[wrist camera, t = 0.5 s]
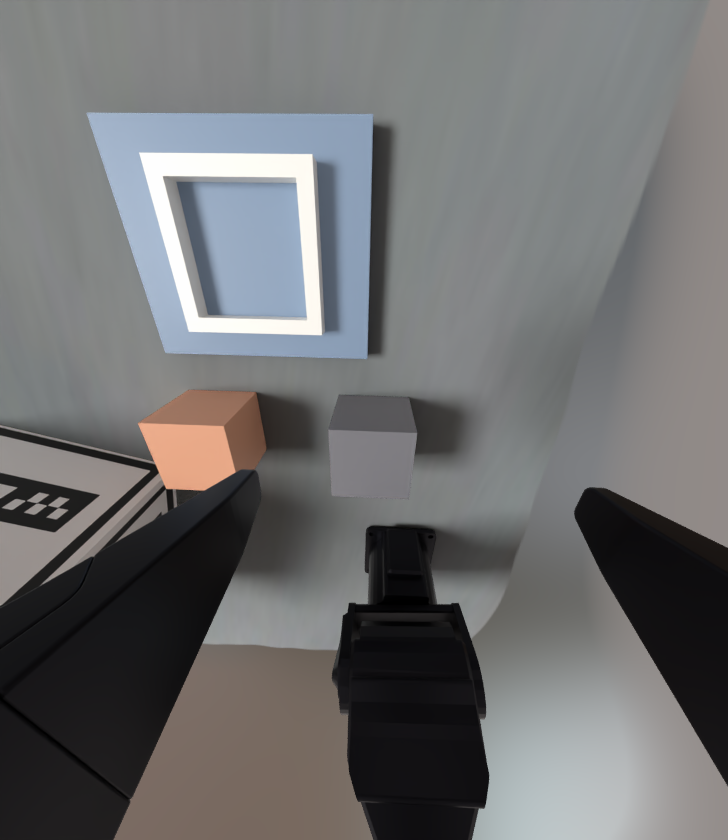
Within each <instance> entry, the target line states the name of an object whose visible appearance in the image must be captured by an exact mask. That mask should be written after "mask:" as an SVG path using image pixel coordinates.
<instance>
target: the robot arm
mask: <svg viewBox="0 0 728 840" xmlns="http://www.w3.org/2000/svg"><path fill="white" fill-rule="evenodd" d="M260 501H261V489H260V483H259V477H258V473H257V471H255V470H249V469H241V470H239V471H237V472H235V473H234V474H232V475H230V476H228V477H227V478H225V479H223V480H222V481H220V482H218V483H216V484H215V485H213V486H211V487H210V488H208V489H206V490H204V491H203V492H201V493H199V494H198V495H196V496H194V497H192V498H191V499H189V500H187V501H186V502H184V503H182V504H180V505H179V506H177V507H175V508H174V509H172V510H170V511H168V512H167V513H165V514H163V515H162V516H160V517H158V518H156V519H155V520H153V521H151V522H149V523H148V524H146V525H144V526H143V527H141V528H139V529H137V530H136V531H134V532H132V533H131V534H129V535H127V536H125V537H124V538H122V539H120V540H119V541H117V542H115V543H113V544H112V545H110V546H108V547H107V548H105V549H103V550H101V551H100V552H98V553H96V554H95V556H94V557H93V556H92V557H89V558H87V559H86V560H84V561H82V562H81V563H79V564H77V565H75V566H74V567H72V568H70V569H69V570H67V571H65V572H63V573H62V574H60V575H58V576H56V577H55V578H53V579H51V580H49V581H47V582H46V583H44V584H42V585H40V586H39V587H37V588H35V589H33V590H32V591H30V592H28V593H26V594H24V595H22V596H20V597H19V598H17V599H15V600H13V601H11V602H9V603H7V604H6V605H4V606H2V607H0V840H113V839H114V838H115V835H116V833H117V831H118V828H119V826H120V824H121V822H122V820H123V818H124V815H125V813H126V811H127V809H128V807H129V804H130V799H131V798H132V797H133V795H134V793H135V790H136V788H137V786H138V784H139V782H140V779H141V777H142V775H143V773H144V771H145V768H146V766H147V764H148V762H149V760H150V757H151V755H152V753H153V751H154V749H155V746H156V744H157V742H158V740H159V738H160V735H161V733H162V731H163V729H164V726H165V724H166V722H167V720H168V718H169V716H170V713H171V711H172V709H173V707H174V704H175V702H176V700H177V698H178V696H179V694H180V691H181V689H182V687H183V685H184V682H185V680H186V678H187V676H188V674H189V671H190V669H191V667H192V665H193V663H194V660H195V658H196V656H197V654H198V652H199V649H200V647H201V645H202V643H203V641H204V638H205V636H206V634H207V632H208V630H209V627H210V625H211V623H212V621H213V619H214V616H215V614H216V612H217V610H218V608H219V605H220V603H221V601H222V599H223V596H224V594H225V592H226V590H227V588H228V585H229V583H230V581H231V579H232V577H233V574H234V572H235V570H236V568H237V566H238V563H239V561H240V559H241V556H242V554H243V552H244V549H245V546H246V543H247V540H248V537H249V534H250V531H251V528H252V525H253V522H254V519H255V516H256V513H257V510H258V507H259V504H260ZM574 515H575V519H576V521H577V523H578V525H579V527H580V529H581V532H582V533H583V536H584V538H585V540H586V542H587V544H588V546H589V548H590V550H591V552H592V554H593V557H594V559H595V561H596V563H597V565H598V567H599V569H600V571H601V573H602V575H603V577H604V578H605V580H606V582H607V584H608V585H609V587H610V589H611V590H612V592H613V594H614V595H615V597H616V599H617V600H618V602H619V604H620V606H621V607H622V609H623V611H624V612H625V614H626V616H627V617H628V619H629V620H630V622H631V624H632V626H633V627H634V629H635V631H636V633H637V634H638V636H639V638H640V639H641V641H642V643H643V644H644V646H645V648H646V649H647V651H648V653H649V654H650V656H651V658H652V659H653V661H654V663H655V664H656V666H657V668H658V670H659V671H660V673H661V674H662V676H663V678H664V680H665V681H666V683H667V685H668V686H669V688H670V690H671V691H672V693H673V695H674V696H675V698H676V700H677V701H678V703H679V705H680V706H681V708H682V710H683V712H684V713H685V715H686V717H687V718H688V720H689V722H690V723H691V725H692V727H693V728H694V730H695V732H696V734H697V735H698V737H699V738H700V740H701V742H702V744H703V745H704V747H705V749H706V750H707V752H708V753H709V755H710V757H711V759H712V760H713V762H714V764H715V765H716V767H717V769H718V771H719V772H720V774H721V775H722V777H723V779H724V781H725V782H726V784H727V786H728V548H727V547H725V546H723V545H721V544H719V543H717V542H715V541H713V540H711V539H708V538H706V537H704V536H702V535H700V534H698V533H696V532H694V531H692V530H690V529H688V528H686V527H684V526H682V525H680V524H678V523H676V522H674V521H672V520H670V519H668V518H665V517H663V516H661V515H659V514H657V513H655V512H653V511H651V510H649V509H647V508H645V507H643V506H641V505H639V504H637V503H635V502H633V501H631V500H629V499H626V498H624V497H622V496H620V495H618V494H616V493H614V492H612V491H610V490H608V489H605V488H595V487H590V488H587V489H585V490H584V492H583V494H582V496H581V498H580V500H579V502H578V504H577V506H576V508H575V511H574ZM435 540H436V534H435V531H433V530H427V529H405V528H383V527H369V528H367V529H366V547H365V572H366V573H369V586H368V604H356V603H349V607H348V613H346V614H345V615H343V621H342V631H341V638H340V643H339V647H338V651H337V655H336V659H335V663H334V668H333V672H332V681H333V683H334V685H335V686H336V688H337V689H338V698H339V705H340V713H341V715H348V749H347V758H348V764H349V774H350V777H351V780H352V784H353V788H354V791H355V795H356V798H357V800H358V802H361V804H362V807H363V810H364V813H365V816H366V819H367V822H368V825H369V828H370V831H371V834H372V837H373V840H472V836H473V831H474V827H475V822H476V818H477V814H478V809H479V808H482V809H484V808H485V805H486V799H487V792H488V784H489V772H488V767H487V762H486V755H485V749H484V742H483V737H482V730H481V724H480V719H485V717H486V701H485V692H484V687H483V680H482V675H481V671H480V667H479V663H478V659H477V656H476V653H475V650H474V647H473V644H472V641H471V638H470V635H469V632H468V629H467V626H466V623H465V620H464V617H463V614H462V611H461V608H460V605H459V603H451V604H437V600H436V595H435V589H434V583H433V578H432V572H431V566H430V563H431V559H432V554H433V549H434V544H435Z"/></svg>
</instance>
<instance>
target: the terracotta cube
mask: <svg viewBox="0 0 728 840" xmlns="http://www.w3.org/2000/svg"><path fill="white" fill-rule="evenodd" d="M138 424H139V427H140V429H141V431H142V434H143V436H144V438H145V441H146V443H147V445H148V448H149V450H150V452H151V455H152V457H153V459H154V462H155V464H156V466H157V469H158V471H159V473H160V476H161V478H162V480H163V483H164V485H165V487H166V489H181V490H206V489H208V488H210V487H211V486H213V485H215V484H216V483H218V482H220V481H222V480H223V479H225V478H227V477H228V476H230V475H232V474H234V473H235V472H237V471H239V470H241V469H249V470H254V469H255V468H256V466H257V464H258V463H259V461H260V459H261V458H262V456H263V454H264V453H265V451H266V449H267V448H266V443H265V437H264V432H263V426H262V421H261V415H260V410H259V404H258V399H257V393H256V392H237V391H207V390H188V391H186V392H185V393H183V394H182V395H180V396H178V397H177V398H175V399H174V400H172V401H171V402H169V403H168V404H166V405H165V406H163V407H162V408H160V409H159V410H157V411H156V412H154V413H153V414H151V415H149V416H148V417H146V418H145V419H143V420H142V421H140V422H139V423H138Z"/></svg>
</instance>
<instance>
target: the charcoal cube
mask: <svg viewBox="0 0 728 840" xmlns="http://www.w3.org/2000/svg"><path fill="white" fill-rule="evenodd" d="M328 434H329V454H330V474H331V493H332V496H344V497H366V498H389V499H409V494H410V487H411V479H412V471H413V463H414V456H415V448H416V440H417V429H416V425H415V421H414V417H413V413H412V409H411V404H410V400H409V397H388V396H359V395H339V396H338V399H337V403H336V406H335V409H334V413H333V416H332V419H331V422H330V426H329V429H328Z"/></svg>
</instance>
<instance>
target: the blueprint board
mask: <svg viewBox="0 0 728 840" xmlns="http://www.w3.org/2000/svg"><path fill="white" fill-rule="evenodd" d="M87 115H88V119H89V122H90V125H91V128H92V131H93V134H94V137H95V140H96V143H97V146H98V149H99V152H100V155H101V158H102V161H103V164H104V167H105V170H106V173H107V176H108V179H109V182H110V185H111V189H112V192H113V195H114V198H115V201H116V204H117V207H118V210H119V213H120V216H121V219H122V222H123V225H124V228H125V231H126V234H127V237H128V240H129V243H130V246H131V249H132V252H133V255H134V259H135V262H136V265H137V268H138V271H139V274H140V277H141V280H142V283H143V286H144V289H145V292H146V295H147V298H148V301H149V304H150V307H151V310H152V313H153V316H154V319H155V322H156V325H157V329H158V332H159V335H160V338H161V341H162V344H163V347H164V350H165V353H182V354H216V355H250V356H285V357H319V358H353V359H367V356H368V321H369V279H370V237H371V195H372V154H373V114H237V113H87Z"/></svg>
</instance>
